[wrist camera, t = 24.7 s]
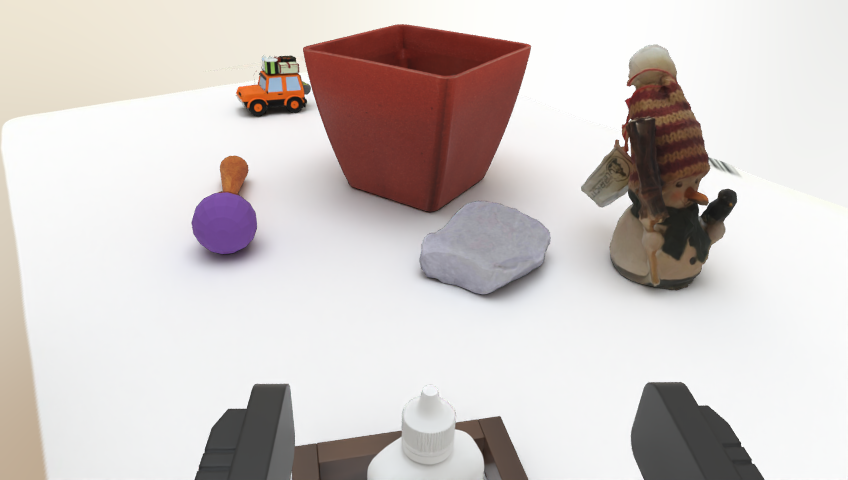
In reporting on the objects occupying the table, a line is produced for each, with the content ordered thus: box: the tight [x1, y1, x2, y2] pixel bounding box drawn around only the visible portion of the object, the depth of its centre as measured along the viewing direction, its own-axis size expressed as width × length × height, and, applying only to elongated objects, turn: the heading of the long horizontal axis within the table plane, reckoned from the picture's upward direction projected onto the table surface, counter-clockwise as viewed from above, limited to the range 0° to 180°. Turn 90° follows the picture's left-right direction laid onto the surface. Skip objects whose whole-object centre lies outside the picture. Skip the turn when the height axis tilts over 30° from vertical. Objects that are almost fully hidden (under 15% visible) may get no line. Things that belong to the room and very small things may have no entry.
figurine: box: [581, 45, 737, 290], centre depth 55 cm, size 13×12×20 cm
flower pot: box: [303, 24, 531, 211], centre depth 71 cm, size 19×19×17 cm
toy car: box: [236, 55, 311, 116], centre depth 97 cm, size 7×12×9 cm, turn 119°
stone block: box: [420, 201, 551, 294], centre depth 58 cm, size 12×5×10 cm
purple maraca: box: [192, 156, 257, 254], centre depth 64 cm, size 6×6×20 cm
